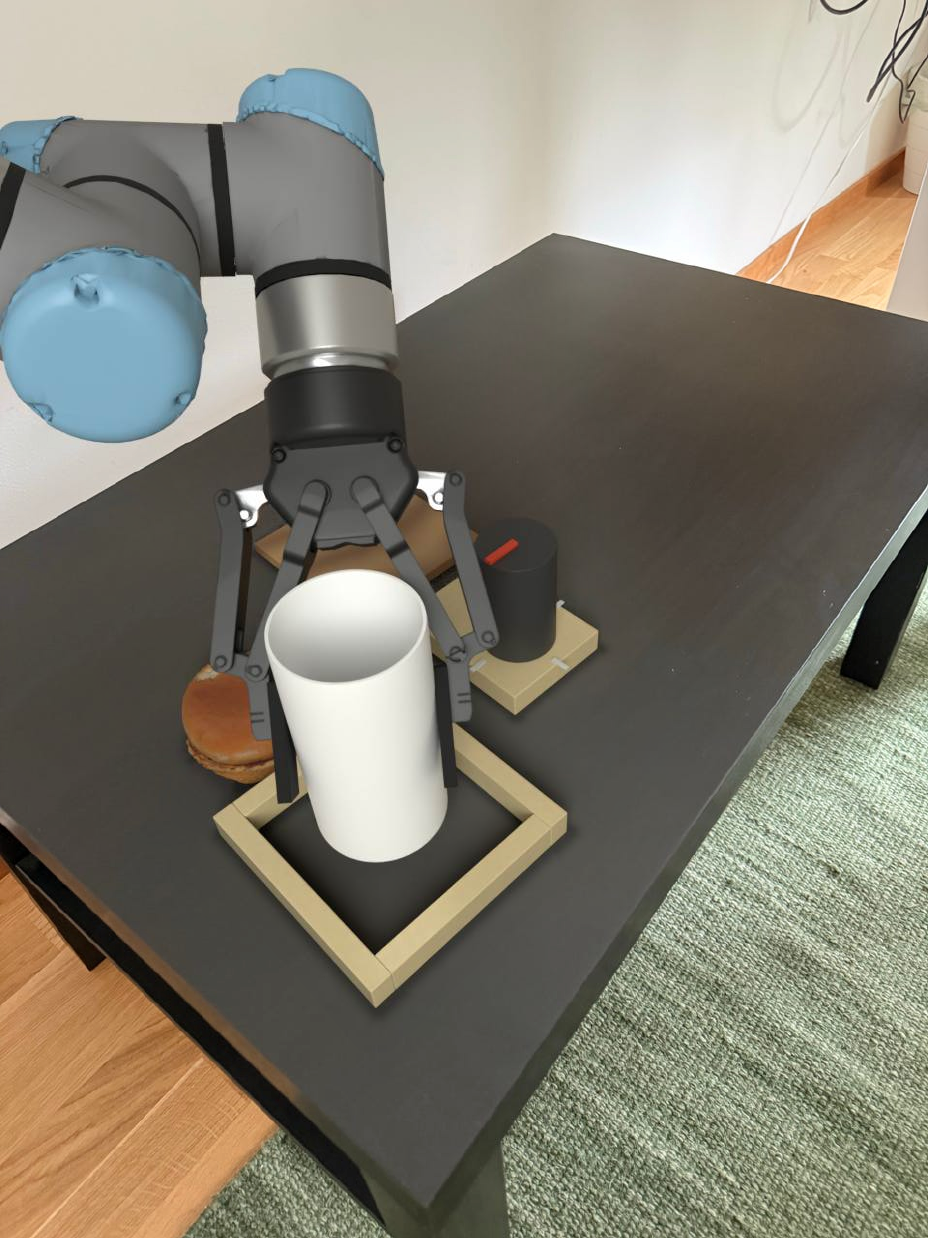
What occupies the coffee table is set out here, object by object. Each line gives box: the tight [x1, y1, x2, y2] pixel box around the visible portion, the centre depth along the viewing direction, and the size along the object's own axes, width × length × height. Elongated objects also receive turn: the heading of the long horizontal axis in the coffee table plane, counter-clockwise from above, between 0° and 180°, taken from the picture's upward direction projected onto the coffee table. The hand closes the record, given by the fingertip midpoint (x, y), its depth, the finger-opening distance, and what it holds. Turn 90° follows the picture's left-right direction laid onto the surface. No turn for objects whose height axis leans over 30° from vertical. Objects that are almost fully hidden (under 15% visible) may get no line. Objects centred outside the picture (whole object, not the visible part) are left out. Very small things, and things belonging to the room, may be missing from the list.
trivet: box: [253, 493, 479, 582], centre depth 80 cm, size 14×14×1 cm
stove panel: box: [429, 577, 599, 716], centre depth 71 cm, size 13×10×2 cm
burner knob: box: [475, 517, 559, 663], centre depth 66 cm, size 6×6×9 cm
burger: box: [181, 650, 297, 784], centre depth 65 cm, size 10×9×5 cm
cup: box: [264, 569, 449, 863], centre depth 52 cm, size 8×8×16 cm
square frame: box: [212, 722, 568, 1008], centre depth 59 cm, size 16×16×2 cm
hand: (370, 790), depth 51 cm, fingers closed on cup, 8 cm apart
